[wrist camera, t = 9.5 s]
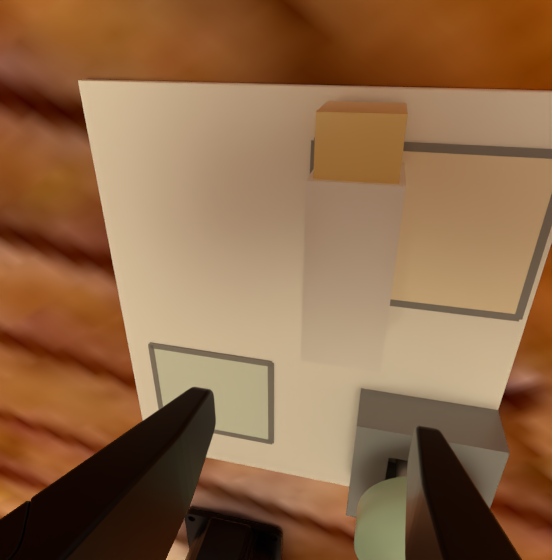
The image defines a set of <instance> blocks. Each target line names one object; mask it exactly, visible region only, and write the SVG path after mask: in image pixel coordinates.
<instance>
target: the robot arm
mask: <svg viewBox="0 0 552 560" xmlns="http://www.w3.org/2000/svg"><path fill="white" fill-rule="evenodd" d="M215 425H216V415H215V403H214V394H213V392H212V390H210V389H206V388H200V387H191V388H189V389H188V390H186V391H185V392H184V393H182V394H181V395H179V396H178V397H176V398H175V399H173V400H172V401H171V402H169V403H168V404H166V405H165V406H163V407H162V408H160V409H159V410H158V411H156V412H155V413H153V414H152V415H150V416H149V417H148V418H146V419H145V420H143V421H142V422H140V423H139V424H137V425H136V426H135V427H133V428H132V429H130V430H129V431H127V432H126V433H124V434H123V435H122V436H120V437H119V438H117V439H116V440H114V441H113V442H111V443H110V444H109V445H107V446H106V447H104V448H103V449H101V450H100V451H98V452H97V453H96V454H94V455H93V456H91V457H90V458H88V459H87V460H85V461H84V462H83V463H81V464H80V465H78V466H77V467H75V468H74V469H72V470H71V471H70V472H68V473H67V474H65V475H64V476H62V477H61V478H59V479H58V480H57V481H55V482H54V483H52V484H51V485H49V486H48V487H46V488H45V489H44V490H42V491H41V492H39V493H38V494H36V495H35V496H34V497H32V499H31V501H26V502H25V503H23V504H22V505H20V506H19V507H17V508H16V509H14V510H13V511H12V512H10V513H9V514H7V515H6V516H4V517H3V518H1V519H0V560H166V558H167V556H168V553H169V551H170V549H171V547H172V544H173V542H174V540H175V538H176V536H177V533H178V531H179V529H180V527H181V524H182V522H183V520H184V518H185V523H186V530H187V536H188V543H189V552H188V554H187V557H186V559H185V560H282V532H281V530H279V529H278V528H275V527H271V526H267V525H262V524H258V523H254V522H249V521H245V520H241V519H236V518H232V517H228V516H223V515H219V514H215V513H211V512H206V511H202V510H198V509H193V508H190V509H188V508H189V506H190V503H191V501H192V498H193V495H194V492H195V489H196V486H197V483H198V480H199V477H200V474H201V470H202V467H203V464H204V461H205V458H206V455H207V452H208V449H209V446H210V443H211V440H212V437H213V434H214V430H215ZM405 560H522V559H521V557H520V556H519V554H518V553H517V551H516V549H515V548H514V546H513V545H512V543H511V542H510V540H509V538H508V537H507V535H506V534H505V532H504V530H503V529H502V527H501V526H500V524H499V523H498V521H497V519H496V518H495V516H494V515H493V513H492V511H491V510H490V508H489V507H488V505H487V504H486V502H485V500H484V499H483V497H482V496H481V494H480V492H479V491H478V489H477V488H476V486H475V485H474V483H473V481H472V480H471V478H470V477H469V475H468V473H467V472H466V470H465V469H464V467H463V466H462V464H461V462H460V461H459V459H458V458H457V456H456V454H455V453H454V451H453V450H452V448H451V447H450V445H449V443H448V442H447V440H446V439H445V437H444V435H443V434H442V432H441V431H440V430H439V429H437V428H433V427H427V426H421V425H418V426H416V427H415V429H414V432H413V437H412V442H411V447H410V452H409V457H408V466H407V494H406V525H405Z"/></svg>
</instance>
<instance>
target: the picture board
mask: <svg viewBox="0 0 552 560" xmlns="http://www.w3.org/2000/svg"><path fill="white" fill-rule="evenodd" d="M78 83H79V89H80V94H81V99H82V104H83V110H84V115H85V120H86V125H87V131H88V136H89V141H90V146H91V152H92V157H93V162H94V167H95V173H96V178H97V183H98V188H99V194H100V199H101V204H102V209H103V215H104V220H105V225H106V230H107V236H108V241H109V246H110V251H111V257H112V262H113V267H114V272H115V277H116V283H117V288H118V293H119V298H120V304H121V309H122V314H123V319H124V325H125V330H126V335H127V340H128V346H129V351H130V356H131V361H132V367H133V372H134V377H135V382H136V388H137V393H138V398H139V403H140V409H141V414H142V419H143V420H145V419H146V418H148V417H149V416H150V415H152V414H153V413H155V412H156V411H158V410H159V409H160V408H162V407H163V406H165V405H166V404H168V403H169V402H171V401H172V400H173V399H175V398H176V397H178V396H179V395H181V394H182V393H184V392H185V391H186V390H188V389H189V388H191V387H200V388H206V389H210V390H212V392H213V394H214V403H215V415H216V425H215V430H214V434H213V437H212V440H211V443H210V446H209V449H208V452H207V455H206V457H207V458H212V459H217V460H222V461H227V462H232V463H237V464H242V465H246V466H251V467H256V468H261V469H266V470H271V471H276V472H280V473H285V474H290V475H295V476H300V477H305V478H310V479H315V480H319V481H324V482H329V483H334V484H339V485H344V486H349V484H350V475H351V467H352V458H353V450H354V442H355V433H356V425H357V417H358V409H359V400H360V392H361V388H363V389H369V390H376V391H382V392H388V393H394V394H401V395H407V396H413V397H419V398H426V399H432V400H438V401H444V402H451V403H457V404H463V405H469V406H476V407H482V408H488V409H494V410H498V409H499V406H500V403H501V399H502V396H503V393H504V390H505V387H506V384H507V381H508V378H509V374H510V371H511V368H512V365H513V362H514V359H515V356H516V353H517V349H518V346H519V343H520V340H521V337H522V334H523V331H524V328H525V324H526V321H527V318H528V315H529V312H530V309H531V306H532V303H533V299H534V296H535V293H536V290H537V287H538V284H539V281H540V278H541V275H542V271H543V268H544V265H545V262H546V259H547V256H548V253H549V250H550V246H551V243H552V90H510V89H468V88H426V87H385V86H343V85H301V84H259V83H218V82H176V81H134V80H92V79H86V80H79V81H78ZM327 101H344V102H385V103H406V104H407V112H408V117H407V124H406V132H405V140H404V148H403V156H402V163H405V182H406V189H405V196H404V203H403V211H402V218H401V226H400V233H399V240H398V248H397V255H396V262H395V270H394V277H393V284H392V292H391V299H390V306H389V314H388V321H387V329H386V336H385V343H384V351H383V358H382V365H381V372H375V371H368V370H362V369H355V368H348V367H341V366H334V365H328V364H321V363H314V362H307V361H301V333H302V299H303V264H304V229H305V194H306V180H307V178H308V177H309V175H310V173H311V172H312V170H313V169H314V146H315V119H316V111H317V110H318V109H319V108H320V107H322V106H323V105H324V104H325V103H326V102H327ZM388 461H389V462H394V463H396V459H395V458H390V457H389V459H388Z"/></svg>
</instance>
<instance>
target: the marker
mask: <svg viewBox="0 0 552 560" xmlns="http://www.w3.org/2000/svg"><path fill="white" fill-rule="evenodd" d="M407 117H408V112H407V104H406V103H385V102H344V101H327V102H326V103H325V104H324V105H323V106H322V107H320V108H319V109H318V110H317V111H316V119H315V146H314V169H313V170H312V172H311V173H310V175H309V177H308V178H307V180H306V194H305V229H304V264H303V299H302V333H301V361H307V362H314V363H321V364H328V365H334V366H341V367H348V368H355V369H362V370H368V371H375V372H381V365H382V358H383V351H384V343H385V336H386V329H387V321H388V314H389V306H390V299H391V292H392V284H393V277H394V270H395V262H396V255H397V248H398V240H399V233H400V226H401V218H402V211H403V203H404V196H405V189H406V182H405V163H402V156H403V148H404V140H405V132H406V124H407Z"/></svg>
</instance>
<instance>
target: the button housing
mask: <svg viewBox="0 0 552 560" xmlns="http://www.w3.org/2000/svg"><path fill="white" fill-rule="evenodd" d="M418 425H421V426H427V427H433V428H437V429H439V430H440V431H441V432H442V434H443V435H444V437H445V439H446V440H447V442H448V443H449V445H450V447H451V448H452V450H453V451H454V453H455V454H456V456H457V458H458V459H459V461H460V462H461V464H462V466H463V467H464V469H465V470H466V472H467V473H468V475H469V477H470V478H471V480H472V481H473V483H474V485H475V486H476V488H477V489H478V491H479V492H480V494H481V496H482V497H483V499H484V500H485V502H486V504H487V505H488V507H489V508H490V506H491V504H492V501H493V498H494V495H495V492H496V490H497V487H498V484H499V481H500V479H501V476H502V473H503V470H504V467H505V465H506V462H507V459H508V456H509V449H508V445H507V441H506V438H505V434H504V430H503V427H502V423H501V419H500V415H499V412H498V410H494V409H488V408H482V407H476V406H469V405H463V404H457V403H451V402H444V401H438V400H432V399H426V398H419V397H413V396H407V395H401V394H394V393H388V392H382V391H376V390H369V389H363V388H361V392H360V400H359V409H358V417H357V425H356V433H355V442H354V450H353V458H352V467H351V475H350V484H349V493H348V503H347V512H346V515H347V516H352V517H356V516H357V506H358V502H359V500H360V498H361V496H362V495H363V494H364V492H365V491H367V490H368V489H369V488H370V487H372V486H373V485H375V484H377V483H379V482H381V481H384V480H387V479H392V478H396V463H394V462H389V461H388V459H389V457H390V458H395V459H400V460H406V461H408V457H409V452H410V447H411V442H412V437H413V432H414V429H415V427H416V426H418Z"/></svg>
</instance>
